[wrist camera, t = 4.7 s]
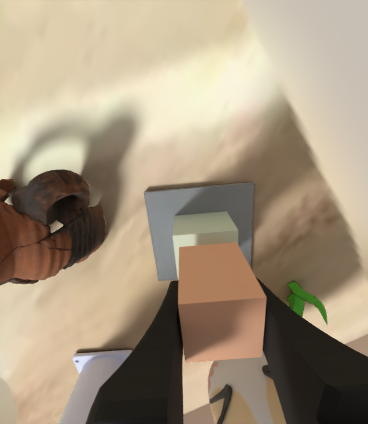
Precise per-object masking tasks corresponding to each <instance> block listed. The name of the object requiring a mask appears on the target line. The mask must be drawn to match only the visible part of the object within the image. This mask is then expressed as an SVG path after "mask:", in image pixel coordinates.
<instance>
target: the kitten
mask: <svg viewBox="0 0 368 424" xmlns="http://www.w3.org/2000/svg"><path fill="white" fill-rule="evenodd" d="M287 285H288V286H289V287H290V289H291V290H292V291H293V293H294V294H293V293H291V294H290V296H289V297H288V298H287V300H288V301H289V302H290V308H291V309H292V310H293V311H294V312H296V313H297V314H298V315H300V316H301V317H302V316H303V310H304V301H306V302H308V303H310V304H313V305H314V306H315V307H316V308H318V310H319V311H320V313H321V315H322V317H323V319H324V320H325V322H326V324H327V314H326V310H325V307H324V305H323V304H322V303H321V301H319V300H318V299H317V298H316V297H315V296H313V295H311V294H309V293H307V292H305V291H304V290H303V289H302V288H301V287H300V286H298V285H297V283H296V282H295V281H294V282H291V283H288V284H287ZM303 300H304V301H303ZM208 394H209V401H210V406H211V410H212V415H213V418H214V423H215V424H286V421H285V417H284V414H283V411H282V407H281V404H280V401H279V397H278V394H277V391H276V388H275V385H274V381H273V378H272V375H271V372H270V369H269V366H268V363H267V360H266V358H265V355H264V353H263V350H262V357H256V358H242V359H228V360H214V362H213V364H212V366H211V368H210V372H209V377H208Z"/></svg>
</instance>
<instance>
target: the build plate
mask: <svg viewBox="0 0 368 424" xmlns="http://www.w3.org/2000/svg"><path fill="white" fill-rule="evenodd" d="M144 197H145V202H146V208H147V214H148V220H149V226H150V232H151V238H152V244H153V250H154V256H155V262H156V268H157V274H158V280H159V281H164V280H177V279H178V277H177V269H176V261H175V253H174V244H173V236H172V235H173V224H174V216H178V215H189V214H201V213H212V212H224V211H227V213H228V214H229V216H230V217H231V219H232V221H233V222H234V224H235V226H236V227H237V229H238V245H239V247H240V249H241V251H242V253H243V255H244V257H245V258H246V260H247V262H248V264H249V266H250V268H251V246H252V223H253V201H254V182H244V183H233V184H222V185H211V186H200V187H188V188H177V189H166V190H155V191H145V192H144Z"/></svg>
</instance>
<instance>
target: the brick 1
mask: <svg viewBox="0 0 368 424" xmlns="http://www.w3.org/2000/svg"><path fill="white" fill-rule="evenodd" d="M172 236H173V244H174V253H175V261H176V269H177V277H178V278H179V247H185V246H196V245H208V244H220V243H232V242H237V244H238V229H237V227H236V226H235V224H234V222H233V221H232V219H231V217H230V216H229V214H228V213H227V211H224V212H212V213H201V214H189V215H178V216H174V224H173V235H172Z"/></svg>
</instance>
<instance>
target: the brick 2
mask: <svg viewBox="0 0 368 424" xmlns="http://www.w3.org/2000/svg"><path fill="white" fill-rule="evenodd" d="M266 299H267V297H266V295H265V293H264V292H263V290H262V288H261V286H260V284H259V282H258V281H257V279H256V277H255V275H254V273H253V271H252V269H251V268H250V266H249V264H248V262H247V260H246V258H245V257H244V255H243V253H242V251H241V249H240V247H239V245H238V244H237V242H232V243H220V244H208V245H196V246H185V247H179V278H178V308H179V316H180V324H181V332H182V339H183V347H184V355H185V363H187V362H201V361H214V360H228V359H242V358H256V357H262V349H263V337H264V324H265V312H266Z"/></svg>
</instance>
